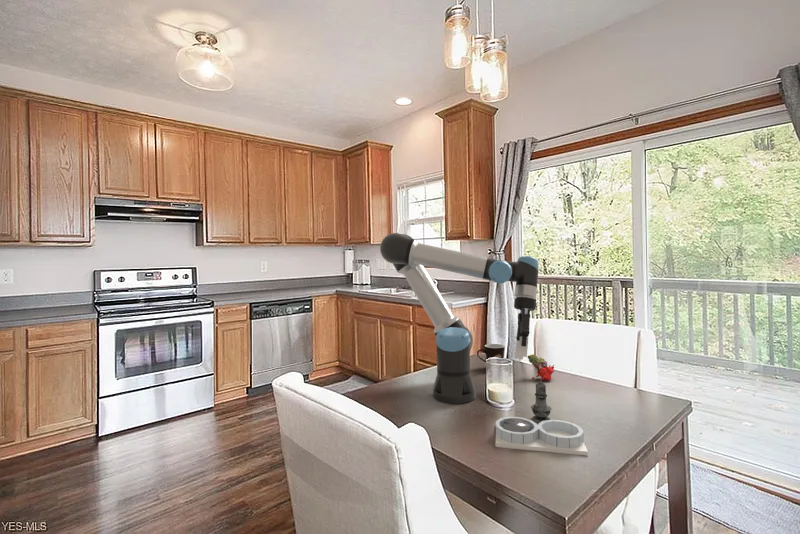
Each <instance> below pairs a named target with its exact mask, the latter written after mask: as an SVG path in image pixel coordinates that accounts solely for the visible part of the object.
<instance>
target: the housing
mask: <svg viewBox="0 0 800 534" xmlns="http://www.w3.org/2000/svg"><path fill="white" fill-rule="evenodd" d="M509 418H519V419H523V420H526V421H528V422H529V423H530V431H528V432H512V431H509V430H506V429H504V420H506V419H509ZM495 447H496V448H504V449H513V450H514V449H515V450H523V451H524V450H525V451H536V452H537V451H538V452H547V453H558V454H566V455H567V454H568V455H577V456H587V457H588V455H589V450H588V449H587V447H586V443H585V438H584V430H583V428H582V427H581V426H580V425H578V424H576V423H573V422H569V421H567V420H562V419H560V420H559V419H550V420H546V421H542V422H540V423H539V422H538V423H537V422H536V421H534V420H531V419H528V418H525V417H520V416H505V417H500V418H498V419H497V420H495Z"/></svg>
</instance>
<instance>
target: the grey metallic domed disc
mask: <svg viewBox="0 0 800 534" xmlns="http://www.w3.org/2000/svg"><path fill="white" fill-rule="evenodd" d="M504 429H506V430H509V431H512V432H528V431H530V423H529V422H528V421H526V420H523V419H519V418H509V419H506V420H504Z"/></svg>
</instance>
